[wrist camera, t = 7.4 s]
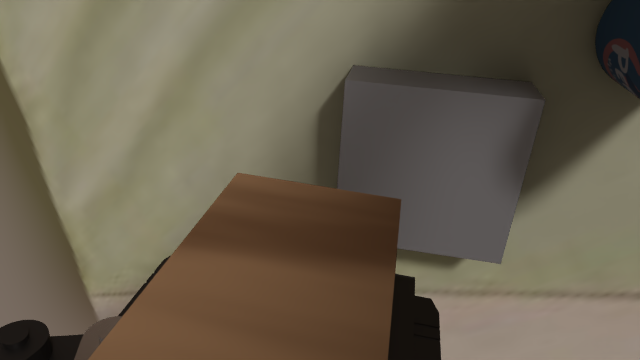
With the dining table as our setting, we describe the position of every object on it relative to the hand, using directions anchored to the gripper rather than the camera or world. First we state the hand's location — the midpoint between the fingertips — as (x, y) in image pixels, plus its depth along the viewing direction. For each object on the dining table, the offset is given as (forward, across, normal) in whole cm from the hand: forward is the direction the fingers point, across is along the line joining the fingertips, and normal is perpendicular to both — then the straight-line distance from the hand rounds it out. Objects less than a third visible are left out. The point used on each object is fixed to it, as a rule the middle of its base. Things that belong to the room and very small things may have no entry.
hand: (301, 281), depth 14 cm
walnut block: (+1, 0, 0) cm, 1 cm away
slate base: (+22, -5, +5) cm, 23 cm away
